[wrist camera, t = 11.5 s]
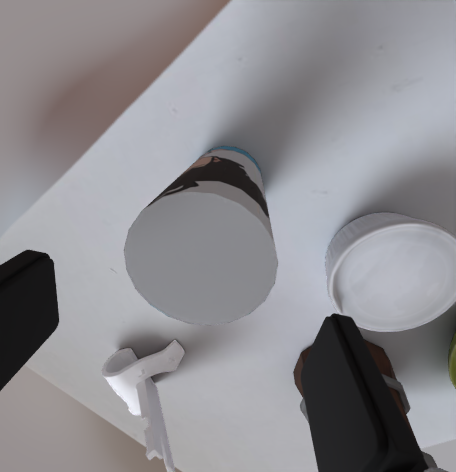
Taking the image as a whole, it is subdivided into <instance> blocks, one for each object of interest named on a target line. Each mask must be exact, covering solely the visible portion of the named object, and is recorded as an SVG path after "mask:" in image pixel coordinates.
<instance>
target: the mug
mask: <svg viewBox="0 0 456 472" xmlns="http://www.w3.org/2000/svg"><path fill="white" fill-rule="evenodd" d="M364 341H365V343H366V345H367V347H368V349H369V351H370V353H371V355H372V357H373V358H374V360H375V362H376V364H377V366H378V368H379V370H380V372H381V374H382V376H383V378H384V380H385V382H386V384H387V386H388V388H389V389H390V391H391V393H392V395H393V397H394V399H395V401H396V403H397V405H398V407H399V409H400V411H401V413H402V415H403V417H404V419H405V420H406V422H407V424H408V426H409V428H410V430H411V432H412V434H413V436H414V433H413V431H412V428H411V426H410V423H409V421H408V418H407V416H406V414H407V413H408V412H409V410H410V405H409V403H408V400H407V397H406V394H405V392H404V389H403V386H402V385H401V383H400V382H399V381H397V379H396V376H395V374H394V371H393V368H392V366H391V363H390V360H389V358H388V357H387V355H386V353H385V351H384V349H383V348H380V347H378V346H376V345H374V344H372V343H370V342H368V341H366V340H364ZM311 348H312V347H310V348H308V349H307V350H305V351H303V352H301V354H300V357H299V359H298V362H297V364H296V367H295V369H294V372H293V373H294V379H295V384H296V386H297V388H298V390H299V392H300V393H301V395H302V397H303V399H302V402H301V404H300V408H301V411H302V413H303V414H304V416H305V418H306V419H307V421H308V423H309V420H308V415H307V410H306V405H305V400H304V395H303V390H302V385H301V379H300V375H301V370H302V367H303V365H304V363H305V361H306V359H307V356H308V354H309V352H310V350H311ZM414 438H415V436H414ZM415 440H416V438H415ZM416 442H417V441H416ZM417 444H418V443H417ZM422 453H423V455H424V459H425V461H426V463H427V465H428V467H429V468H431V467H433V468H437V465H436V463H435V461H434V459H433V457H432V456H431V455H429V454H427V453H425V452H422Z"/></svg>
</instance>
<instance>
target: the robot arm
mask: <svg viewBox="0 0 456 472" xmlns="http://www.w3.org/2000/svg"><path fill="white" fill-rule="evenodd" d="M58 323H59V313H58V302H57V292H56V282H55V271H54V262H53V260H52V259H50V257H49V255H48V254H46V253H42V252H37V251H33V250H26V251H23V252H22V253H20V254H18V255H17V256H15V257H13V258H12V259H10V260H8V261H7V262H5V263H3V264H2V265H0V391H1V390H2V388H3V387H4V386H5V385H6V384H7V383H8V382H9V381H10V380H11V378H12V377H13V376H14V375H15V374H16V373H17V372H18V371H19V370H20V368H21V367H22V366H23V365H24V364H25V363H26V362H27V361H28V360H29V359H30V357H31V356H32V355H33V354H34V353H35V352H36V351H37V350H38V349H39V348H40V346H41V345H42V344H43V343H44V342H45V341H46V340H47V339H48V338H49V336H50V335H51V334H52V333H53V332H54V331H55V330H56V328H57V326H58ZM300 379H301V385H302V390H303V395H304V400H305V405H306V410H307V415H308V420H309V426H310V431H311V436H312V441H313V446H314V451H315V456H316V461H317V466H318V471H319V472H448V471H445V470H443V469H441V468H433V467H431V468H429V467H428V465H427V463H426V461H425V459H424V455H423V453H422V451H421V450H420V448H419V446H418V444H417V442H416V440H415V438H414V436H413V434H412V432H411V430H410V428H409V426H408V424H407V422H406V420H405V419H404V417H403V415H402V413H401V411H400V409H399V407H398V405H397V403H396V401H395V399H394V397H393V395H392V393H391V391H390V389H389V388H388V386H387V384H386V382H385V380H384V378H383V376H382V374H381V372H380V370H379V368H378V366H377V364H376V362H375V360H374V358H373V357H372V355H371V353H370V351H369V349H368V347H367V345H366V343H365V341H364V339H363V337H362V335H361V333H360V331H359V329H358V327H357V326H356V324H355V322H354V320H353V318H352V317H349V316H345V315H340V314H335V313H334V314H332V315H331V316H330V317H326V318H325V320H324V322H323V324H322V326H321V328H320V330H319V333H318V335H317V337H316V339H315V341H314V343H313V346H312V348H311V350H310V352H309V354H308V356H307V359H306V361H305V363H304V365H303V367H302V370H301V375H300Z"/></svg>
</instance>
